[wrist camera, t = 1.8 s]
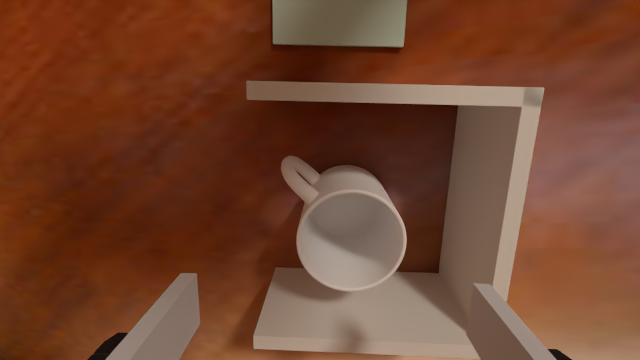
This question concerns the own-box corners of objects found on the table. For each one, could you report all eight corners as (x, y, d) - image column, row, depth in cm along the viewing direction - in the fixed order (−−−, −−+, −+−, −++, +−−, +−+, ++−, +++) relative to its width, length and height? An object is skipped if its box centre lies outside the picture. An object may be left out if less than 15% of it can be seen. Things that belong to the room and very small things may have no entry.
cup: (345, 253, 36) (350, 311, 26) (263, 178, 35) (236, 209, 25) (401, 202, 35) (430, 243, 25) (319, 120, 33) (314, 129, 23)
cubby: (274, 86, 32) (246, 80, 22) (472, 91, 32) (544, 87, 21) (275, 276, 37) (253, 348, 26) (448, 283, 37) (496, 359, 26)
